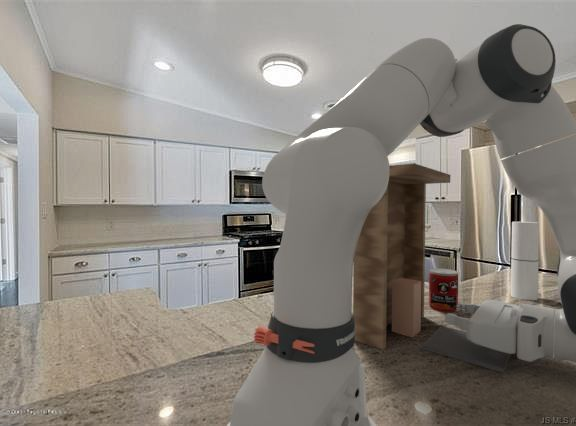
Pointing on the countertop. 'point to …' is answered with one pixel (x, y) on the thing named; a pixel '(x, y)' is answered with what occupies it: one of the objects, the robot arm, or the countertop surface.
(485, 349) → the mat
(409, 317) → the block
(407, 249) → the shelf
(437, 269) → the canned food
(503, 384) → the countertop surface
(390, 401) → the countertop surface
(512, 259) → the cylindrical container
